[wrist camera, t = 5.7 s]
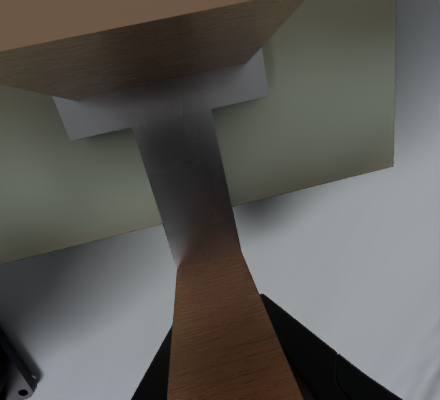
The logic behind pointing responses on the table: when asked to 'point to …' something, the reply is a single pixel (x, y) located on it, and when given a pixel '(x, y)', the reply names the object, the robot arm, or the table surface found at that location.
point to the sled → (169, 153)
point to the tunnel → (225, 130)
